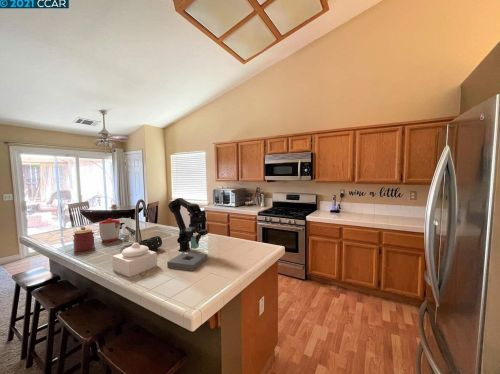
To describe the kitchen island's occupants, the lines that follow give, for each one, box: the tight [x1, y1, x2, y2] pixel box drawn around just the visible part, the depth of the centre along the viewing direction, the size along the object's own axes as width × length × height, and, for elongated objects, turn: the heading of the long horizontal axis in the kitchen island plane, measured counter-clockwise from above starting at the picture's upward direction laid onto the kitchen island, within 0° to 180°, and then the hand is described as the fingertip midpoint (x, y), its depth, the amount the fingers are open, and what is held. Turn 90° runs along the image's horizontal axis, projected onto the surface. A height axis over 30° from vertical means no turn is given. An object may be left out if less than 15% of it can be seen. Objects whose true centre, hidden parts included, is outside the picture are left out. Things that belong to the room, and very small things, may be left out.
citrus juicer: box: [98, 217, 122, 243], centre depth 192 cm, size 16×17×20 cm
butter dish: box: [112, 242, 158, 278], centre depth 133 cm, size 18×18×16 cm
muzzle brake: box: [119, 235, 163, 254], centre depth 157 cm, size 10×28×10 cm, turn 155°
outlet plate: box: [166, 251, 209, 272], centre depth 140 cm, size 18×18×4 cm
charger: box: [190, 235, 200, 250], centre depth 156 cm, size 4×4×8 cm
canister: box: [72, 226, 95, 253], centre depth 169 cm, size 13×13×18 cm
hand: (194, 243), depth 156 cm, fingers closed on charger, 4 cm apart
